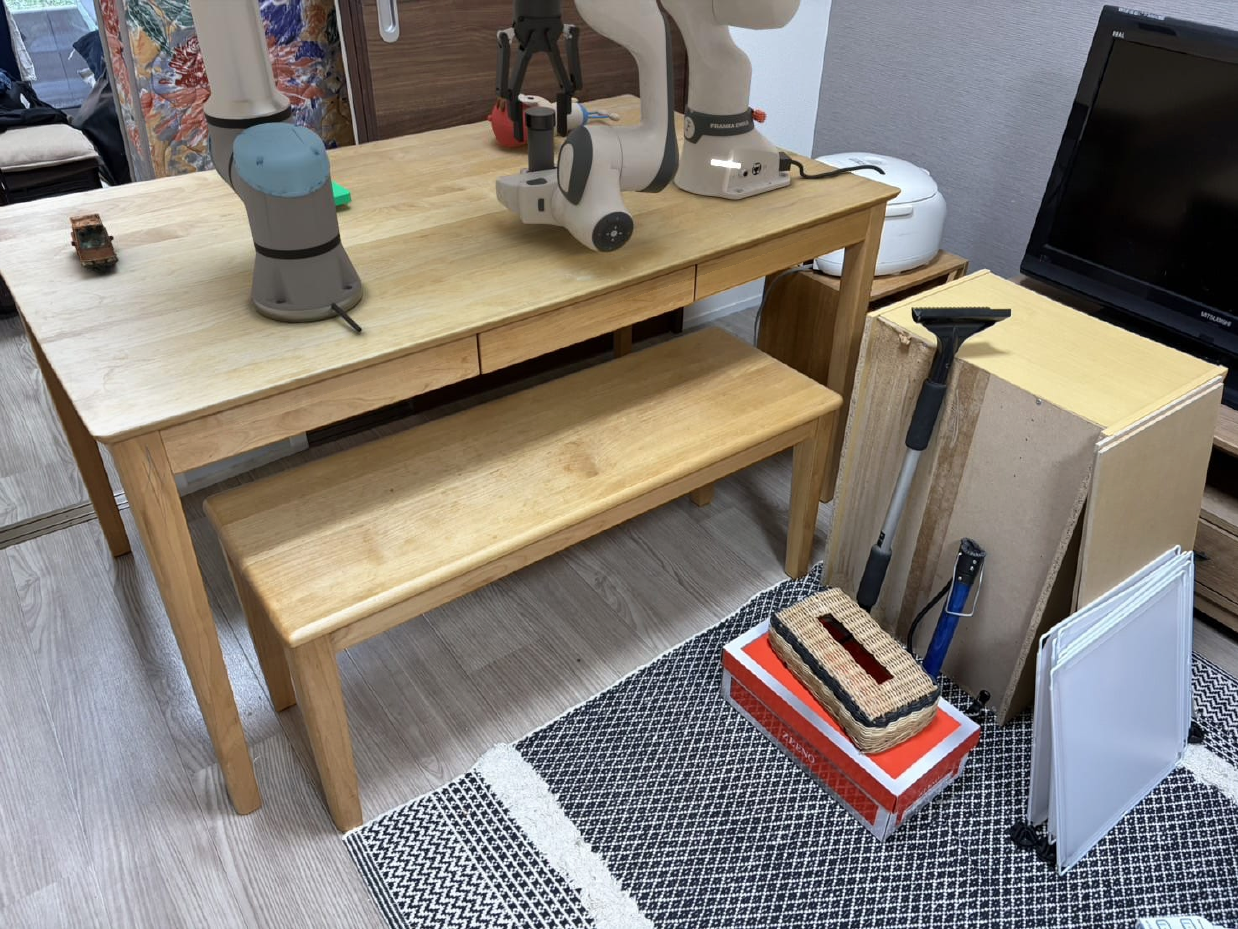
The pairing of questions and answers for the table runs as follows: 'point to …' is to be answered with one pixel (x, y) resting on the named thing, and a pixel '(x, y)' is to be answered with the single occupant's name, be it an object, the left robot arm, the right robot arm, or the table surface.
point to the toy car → (92, 242)
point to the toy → (505, 126)
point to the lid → (540, 118)
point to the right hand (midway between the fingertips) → (539, 170)
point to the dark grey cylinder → (540, 149)
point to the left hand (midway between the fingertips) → (540, 136)
